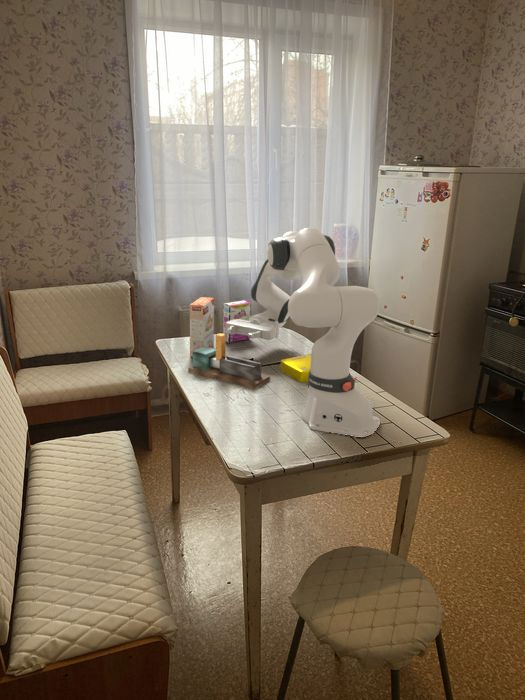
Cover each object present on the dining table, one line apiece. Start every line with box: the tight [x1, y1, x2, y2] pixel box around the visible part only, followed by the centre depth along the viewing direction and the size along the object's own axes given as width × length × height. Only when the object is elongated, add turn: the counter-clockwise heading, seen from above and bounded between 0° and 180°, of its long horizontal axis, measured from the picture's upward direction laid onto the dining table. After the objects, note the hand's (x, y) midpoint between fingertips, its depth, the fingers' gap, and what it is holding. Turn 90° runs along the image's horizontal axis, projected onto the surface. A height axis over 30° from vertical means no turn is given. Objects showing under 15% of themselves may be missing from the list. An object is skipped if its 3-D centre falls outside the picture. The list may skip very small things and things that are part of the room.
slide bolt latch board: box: [187, 346, 271, 390], centre depth 183 cm, size 28×10×8 cm, turn 58°
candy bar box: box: [222, 300, 252, 344], centre depth 221 cm, size 11×5×16 cm, turn 129°
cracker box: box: [189, 296, 215, 358], centre depth 204 cm, size 14×6×21 cm, turn 168°
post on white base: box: [209, 333, 232, 369], centre depth 184 cm, size 12×3×12 cm, turn 58°
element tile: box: [280, 353, 311, 383], centre depth 188 cm, size 15×15×5 cm
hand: (239, 334), depth 192 cm, fingers open, 8 cm apart
